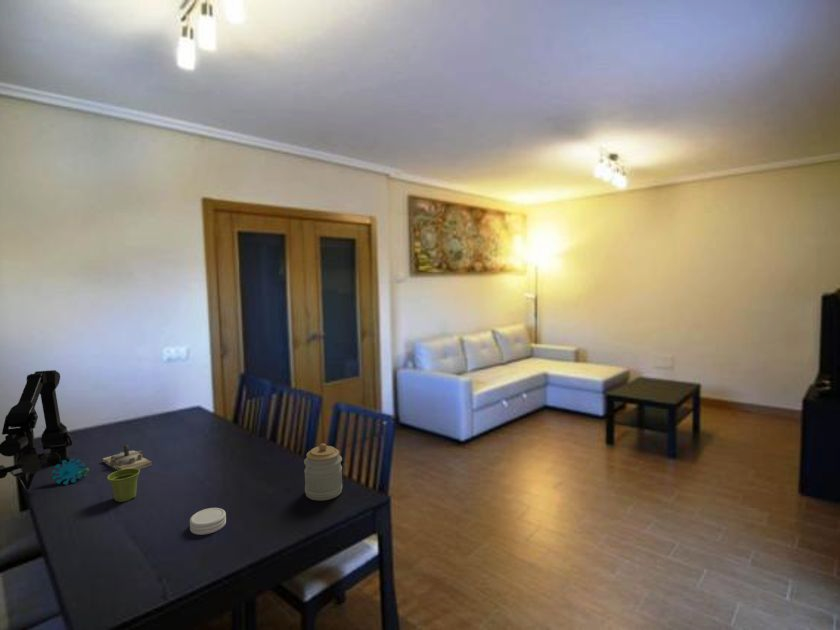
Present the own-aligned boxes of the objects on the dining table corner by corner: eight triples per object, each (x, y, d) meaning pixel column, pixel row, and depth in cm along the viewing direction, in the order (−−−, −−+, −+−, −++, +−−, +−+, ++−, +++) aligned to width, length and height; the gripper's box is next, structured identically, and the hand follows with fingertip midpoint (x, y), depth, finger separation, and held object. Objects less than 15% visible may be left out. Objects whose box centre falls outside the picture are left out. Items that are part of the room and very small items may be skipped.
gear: (47, 484, 163) (55, 457, 169) (50, 490, 167) (57, 464, 173) (85, 482, 167) (91, 456, 174) (86, 488, 171) (92, 463, 178)
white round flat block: (189, 538, 132) (188, 527, 132) (191, 521, 141) (190, 511, 141) (226, 531, 136) (225, 519, 136) (226, 514, 145) (225, 504, 145)
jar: (349, 487, 163) (348, 439, 162) (330, 504, 151) (329, 452, 150) (317, 481, 168) (316, 435, 166) (297, 498, 155) (295, 448, 154)
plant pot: (106, 507, 150) (105, 482, 149) (111, 495, 158) (109, 471, 157) (140, 500, 154) (138, 476, 153) (142, 489, 162) (141, 465, 161)
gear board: (101, 462, 186) (100, 444, 185) (131, 453, 195) (130, 436, 194) (122, 474, 174) (121, 455, 173) (153, 464, 183) (152, 446, 182)
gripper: (-7, 460, 145) (-2, 506, 146) (64, 442, 160) (68, 484, 161) (-16, 452, 151) (-11, 497, 153) (53, 436, 166) (57, 476, 168)
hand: (27, 488), depth 159 cm, fingers closed
